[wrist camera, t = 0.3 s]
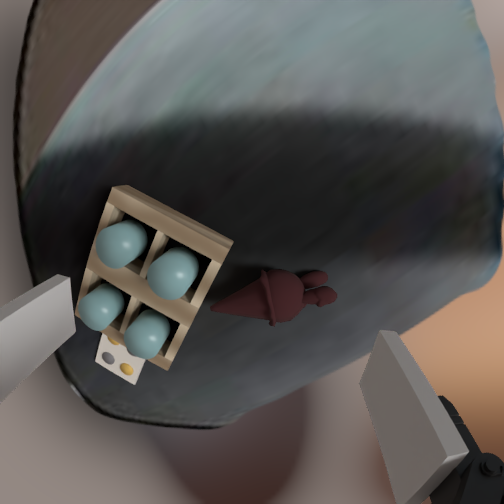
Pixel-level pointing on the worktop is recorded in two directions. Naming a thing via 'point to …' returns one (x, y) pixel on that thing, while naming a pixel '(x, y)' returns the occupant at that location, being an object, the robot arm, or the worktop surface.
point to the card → (119, 359)
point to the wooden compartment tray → (135, 272)
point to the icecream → (277, 296)
